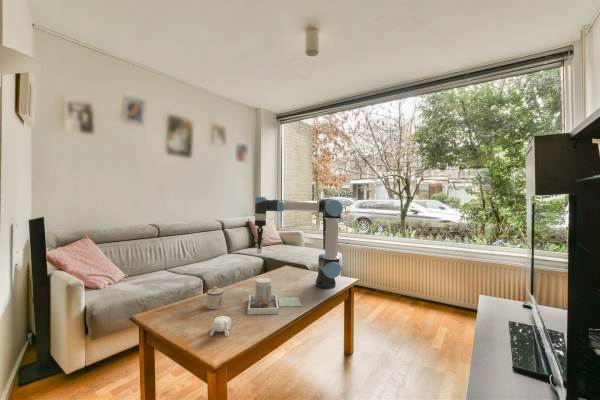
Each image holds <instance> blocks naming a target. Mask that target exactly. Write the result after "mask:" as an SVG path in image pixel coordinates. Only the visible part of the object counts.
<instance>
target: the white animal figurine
mask: <svg viewBox="0 0 600 400" xmlns="http://www.w3.org/2000/svg"><path fill="white" fill-rule="evenodd" d="M231 326H232V318H231V317H228V316H226V315H225V316H224V315H220V316H217V317H214V320H213V322H212V327H211V328H212V329H211V331H210V334H209V337H213V336H214V335H215V333H216V332H219V333H222V332H224V334H225V335H224V336H225V337H229V336H230V333H229V330H230V329H231Z"/></svg>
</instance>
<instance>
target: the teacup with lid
mask: <svg viewBox="0 0 600 400" xmlns="http://www.w3.org/2000/svg"><path fill="white" fill-rule="evenodd" d="M206 298H207V301H206V303H207V304H206V308H207V309H209V310H218V309H220V308H222V307H223V302H224V301H223V300H224V290H223V288H219V287H218V286H216V285H215V286H213V287H212V288H211V289H207V291H206Z"/></svg>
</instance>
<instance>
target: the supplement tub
mask: <svg viewBox="0 0 600 400" xmlns="http://www.w3.org/2000/svg"><path fill="white" fill-rule="evenodd" d="M254 295H255V300H254V301H255V302H254V303H255V305H256V306H257V307H258V301H264V300H267V301H268V303H269V306H270V305H271V304H272V300H271V295H272V279H271V278H268V277H260V278H256V279H255V294H254Z"/></svg>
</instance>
